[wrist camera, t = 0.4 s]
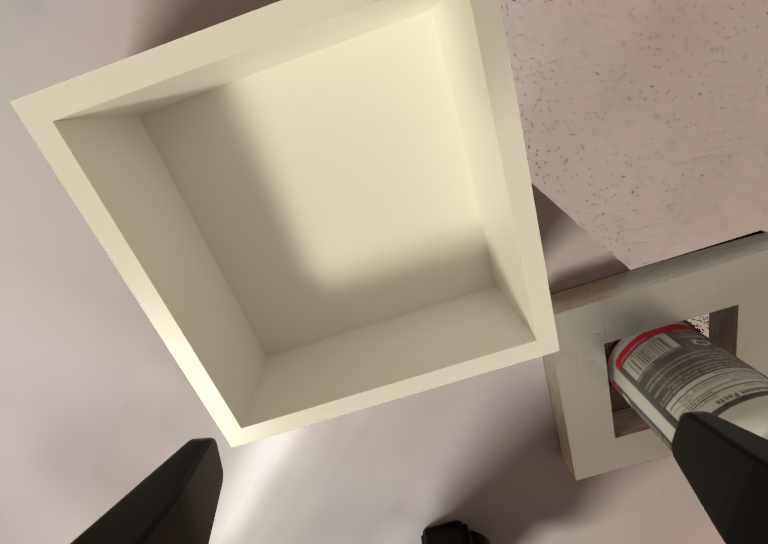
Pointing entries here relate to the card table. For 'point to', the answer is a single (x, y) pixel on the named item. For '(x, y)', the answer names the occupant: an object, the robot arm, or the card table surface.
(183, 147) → the bin
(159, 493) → the robot arm
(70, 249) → the card table surface
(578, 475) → the socket block
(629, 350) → the pill bottle
